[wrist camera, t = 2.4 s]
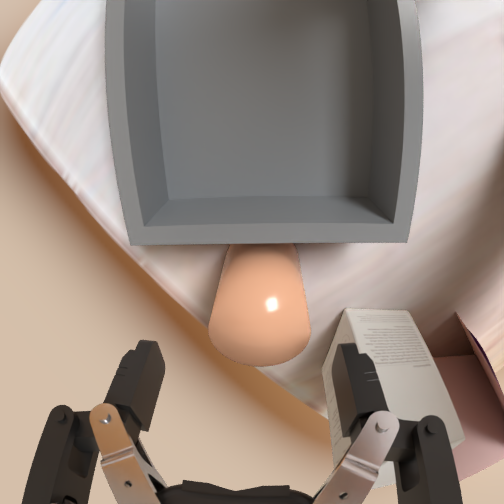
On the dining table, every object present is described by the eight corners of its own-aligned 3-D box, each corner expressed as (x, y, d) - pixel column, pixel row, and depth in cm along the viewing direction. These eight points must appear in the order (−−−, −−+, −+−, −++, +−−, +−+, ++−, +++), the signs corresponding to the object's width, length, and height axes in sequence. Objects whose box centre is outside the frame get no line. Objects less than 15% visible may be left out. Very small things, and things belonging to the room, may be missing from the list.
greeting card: (480, 350, 24) (524, 444, 11) (434, 383, 27) (466, 481, 14) (462, 305, 21) (531, 431, 8) (403, 350, 24) (446, 485, 11)
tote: (363, -61, 7) (386, -94, 3) (375, 207, 17) (406, 242, 13) (150, -54, 8) (120, -84, 4) (161, 210, 18) (130, 245, 14)
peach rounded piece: (300, 227, 18) (315, 294, 12) (297, 290, 20) (306, 365, 14) (222, 228, 18) (201, 294, 12) (229, 291, 21) (215, 365, 15)
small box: (377, 367, 25) (406, 481, 14) (319, 368, 25) (333, 495, 14) (410, 307, 21) (468, 439, 10) (343, 305, 21) (383, 464, 10)
